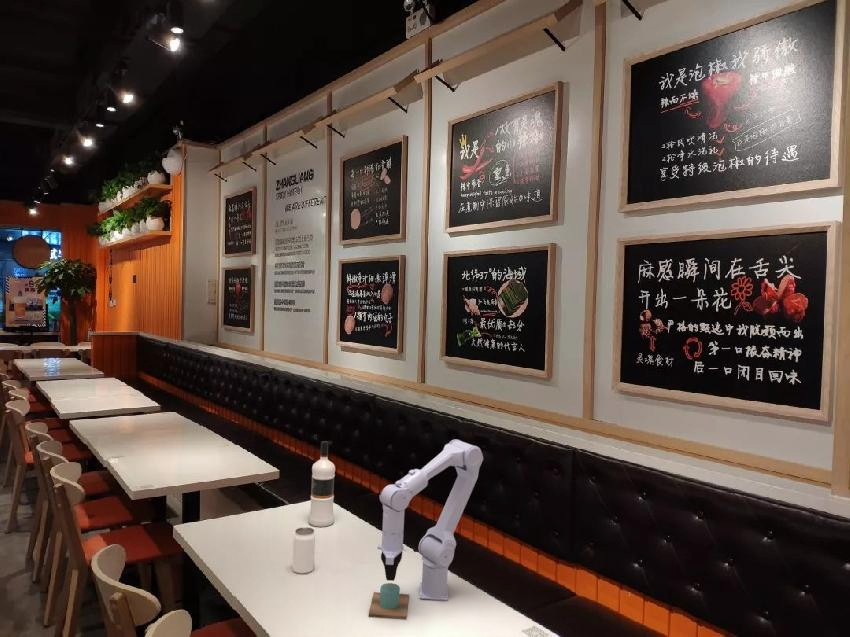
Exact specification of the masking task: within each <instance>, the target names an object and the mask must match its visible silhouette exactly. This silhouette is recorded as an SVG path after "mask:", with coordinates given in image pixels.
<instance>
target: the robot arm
mask: <svg viewBox="0 0 850 637" xmlns="http://www.w3.org/2000/svg"><path fill="white" fill-rule="evenodd" d="M483 461H484V456H483V452H482V450H481V448H480V447H479V446H477V445H473V444H470V443H468V442H465V441H462V440H461V439H452V440H450V441H449V443H446V444H445V445H444V447H443V449H442V451H441V452H440V453H438V455H436V456H435V457H434V458H433V459H431V460H430V461H429V462H427V463H426V465H424V466H423V467H422V468H421V469H418V468H414V469H410V470H409V471H408V473H407V474H406V475H405V476H403V477H402V478H400V479H399V480H397V481H395V483H394V484H388V485H386V486H385V487H384V488H383V489H382V491H381V493H380V494H379V501H380V502H381V504H382V510H383V512H382V529H381V530H382V532H381V534H382V536H381V543H378V544H377V545H376V548H377V549H378V550H381V554H380V559H381V562H382V564H383V567H384V573H385V579H386V581H389V582H390V581H395V578H396V576H397V570H398V567H399V564H400V563H401V561H402V558H403V551H404V545H403V544H404V527H405V526H404V525H405V511H406V509H407V508H408V506H409V504H410V501H411V500H412V498H414V497H416V495H417V494H419V493H420V492H421V491H422V490H424V489H425V488H426V487H428V483H429V480H430V479H431V478H434V476H436V475H438V474H440V473H441V472H443V471H444V470H446V469H447V468H449V467H454V468H455V470H456V473H457V477H456V479H455V482H454V483H453V487H452V489H451V490H450V492H449V496H448V497H447V500H446V502H445V505H444V506H443V509H442V511H441V513H440V516H439V518H438V520H437V523H436V524H435V526H432V527H430V528H428V529H427V531H426V533H425V535H423V537H422V538H421V539H420V541H419V544H418V548H417V549H418V553H419V554H420V555H421V561H422V569H421V570H422V572H421V582H420V588H419V599H420V600H432V601H433V600H434V601H448V600H449V584H448V571H449V569H448V568H449V567H450V564H451V563H452V561H453V560H454V556H455V549H456V546H457V541H456V538H455V537H454V534H455V531H456V529H457V526H458V523H459V522H460V519H461V517H462V515H463V513H464V510H465V508H466V506H467V503H468V501H469V499H470V496H471V494H472V492H473V491H474V490H473V489H474V487H475V484H476V482H477V480H478V477H479V472H480V468H481V465H482V463H483Z"/></svg>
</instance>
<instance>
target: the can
mask: <svg viewBox="0 0 850 637" xmlns="http://www.w3.org/2000/svg"><path fill="white" fill-rule="evenodd" d="M294 531H295V533H294V535H293V541H292V542H293V544H292V546H293V547H292V548H293V549H292V567H291V568H292V571H293V572H294V573H296V574H299V575H303V574H310V573H311V572H313V570H314V568H315V553H316V552H315V550H316V534H315V530H314V528H312V527H309V526H308V527H305V526H304V527H298V528H296V530H294Z"/></svg>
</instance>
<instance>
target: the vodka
mask: <svg viewBox="0 0 850 637" xmlns="http://www.w3.org/2000/svg"><path fill="white" fill-rule="evenodd" d="M328 456H329V441H327V440H325V441H321V442H320V459H318V460H317V461H316V462H314V463H313V464H312V467H311V490H310V491H311V494H310V508H309V509H310V510H309V515H308V521H307V522H308V524H310V525H311V526H314V527H316V526H317V527H316V528H324V527H329V526H331V525H332V524H334V522H335V515H334V514H335V513H334V498H335V495H334V490H335V489H334V488H335V487H334V485H335V476H336V474H335V472H336V465H335V464H334V462H332V461H330V460H329V459H328Z"/></svg>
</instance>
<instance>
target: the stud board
mask: <svg viewBox="0 0 850 637" xmlns="http://www.w3.org/2000/svg"><path fill="white" fill-rule="evenodd" d="M409 599H410V594H408V593H407V594H406V593H400V595H399V606H398V607H396V608H393V609H386V608H383V607H381V605H380V591H379V592H377V591H374V592H373V594H372V598H371V601H370V602H371V603H370V605H369V611H368V615H367V616H368V618H379V619H380V618H381V619H394V620H407V616H408V609H409V608H408V607H409Z"/></svg>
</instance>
